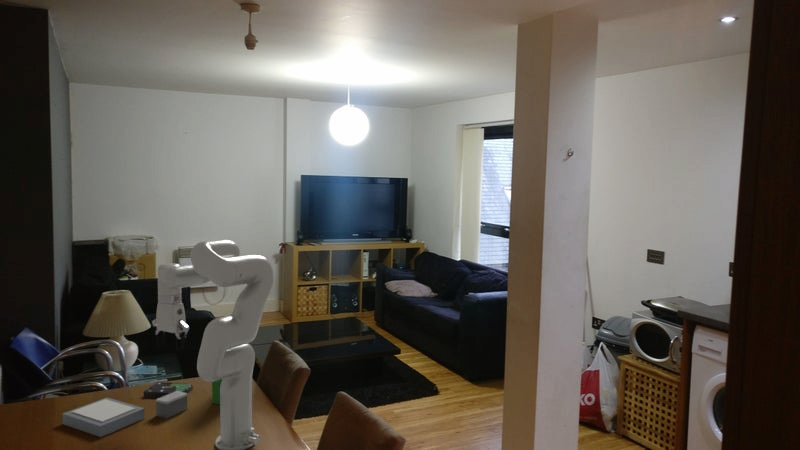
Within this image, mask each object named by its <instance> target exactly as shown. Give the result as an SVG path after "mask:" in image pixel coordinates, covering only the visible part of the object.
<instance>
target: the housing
mask: <svg viewBox="0 0 800 450" xmlns="http://www.w3.org/2000/svg"><path fill="white" fill-rule="evenodd" d="M155 409H156V413H155V415H156V417H160V418H162V419H165V420H166V419H169V418H171V417H173V416H177V415H178V414H180V413H182V411H183V412H185V411H186V410H188V393H184V392H180V391H175V392H173V393H170V394H168V395H165V396H163V397H160V398H156V399H155ZM184 410H185V411H184Z"/></svg>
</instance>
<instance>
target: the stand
mask: <svg viewBox="0 0 800 450" xmlns="http://www.w3.org/2000/svg"><path fill="white" fill-rule="evenodd" d="M145 412H146V411H145V408H144V407H142V406H138V405H135V404H131V403H128V402H123V401H121V400H118V399H114V398H111V397H104V398H101V399H98V400H96V401H94V402H93V401H92V402H90V403H87V404H85V405H82V406H79V407H77V408H74V409H70V410H69V411H65V412H63V413H62V414H61V416H62V418H61V420H62V425H64V426H66V427H67V426H68V427H71V428H72V429H76V430H79V431H80V432H81V431H82V432H84V433H87V434H90V435H93V436H97V437H99V438H102V437H105V436H107V435H110V434H111V433H114V432H116V431H119V430H121V429H123V428H126V427H129V426H130V425H134V424H135V423H137V422H140V421H142V420H145V418H146V413H145Z"/></svg>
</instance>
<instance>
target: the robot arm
mask: <svg viewBox="0 0 800 450" xmlns="http://www.w3.org/2000/svg"><path fill="white" fill-rule="evenodd" d="M190 261H191V263H190V264H182V265H180V264H179V263H175V262H167V263H162V264H161V263H160V264H159V265H158V267H157V306H156V312H155V314H156V316H155V319H153V320H152V321H151V323H152V327H153V330H154V335H156V346H157V347H160V346H164V345H166V332H167V333H171V334H174V335H175V337H176V339H175V351H181V350H184V349H185V348H186V347H185V346H186V343H185V342H186V338H187V335H188V334H189V331H190V326H189V325H188V324H187V321H186V311H185V306H184V303H183V297H182V296H183V295H182V289H183V288H189V287H195V286H200V285H204V284H206V283H208V282H212V283H213V284H215V286H218V287H220V288H230V287H231V288H232V287H235V286H241V285H242V286H243V285H246V287H244V289H242V291H241V292H240V293H239V295H238V296H237V298H236V299H235V303H234V308H233V309H232V312H231V313H230V314H229V315H225V316H222V317H221V316H220V317H218V318H214V319H212V320H211V321H210V322H208V323H207V325H206V327H205V329H204V332H203V334H202V335H203V336H202V339H201V342H200V343H201V344H200V348H199V352H198V356H197V361H196V362H197V363H196V370H197V374H198V376H199V378H200V379H201V380H202V381H204V382H207V383H212V382H213V381H217V380H220V379H223V380H222V383H221V386H220V404H219V412H220V413H219V414H220V416H219V419H220V420H219V421H220V423H219V424H220V428H219V429H220V433H219V435H218V436H217V437H216V438H215V444H214V445H215V447H216V449H218V450H246V449H249V448H250V447H253V446H254V445H255V446H256V445H257V444H259V440H260V439H261V435H260V434H257V433H256V432H255V427H253V402H252V401H253V399H252V398H253V396H252V395H253V394H252V393H253V374H254V373H253V372H254V368H255V362H256V353H255V350H254V347H253V346H252V345H251V344H250V343H252V342H253V341H254V340H255V339H256V337H257V334H258V331H259V328H260V325H261V321H262V317H263V313H264V310H265V305H266V303H267V301H268V298H269V296H270V294H271V291H272V288H273V284H274V272H273V271H274V270H273V266H272V263H271V261H269V259H267V258H266V257H265V256H263V255H259V254H246V255H241V251H240V247H239V246H238V244H237V243H236V242H234V241H232V240H229V239H217V240H204V241H199V242H197V243H196V244H195V245H194V246H193V247H192V248H191V251H190Z"/></svg>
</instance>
